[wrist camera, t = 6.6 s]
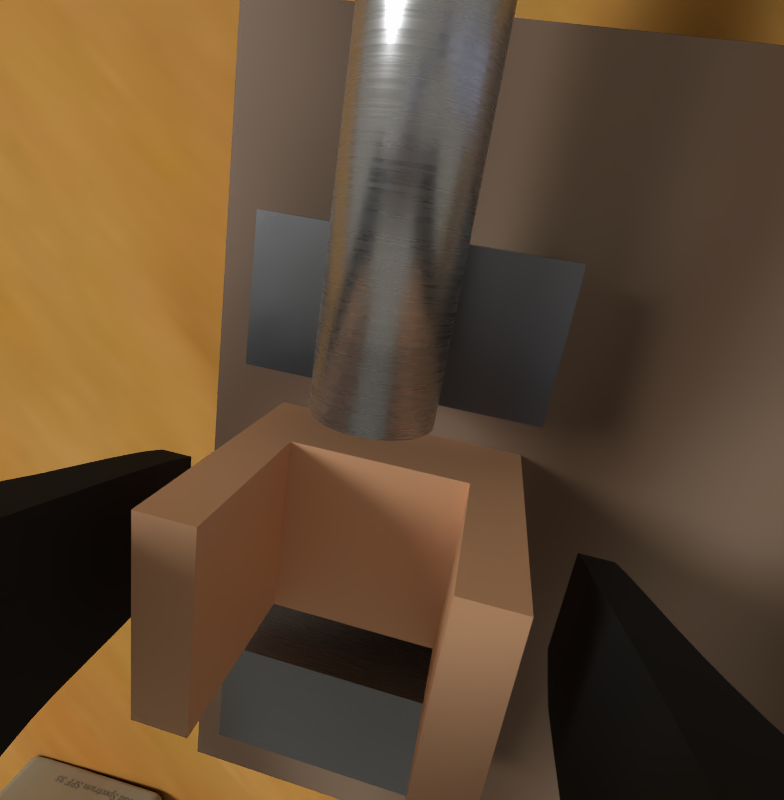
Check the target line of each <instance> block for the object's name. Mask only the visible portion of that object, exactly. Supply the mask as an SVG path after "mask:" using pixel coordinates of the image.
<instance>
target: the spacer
mask: <svg viewBox="0 0 784 800" xmlns="http://www.w3.org/2000/svg"><path fill="white" fill-rule="evenodd" d="M273 604H277V605H280V606H284V607H287V608H291V609H294V610H298V611H301V612H305V613H309V614H312V615H316V616H319V617H323V618H326V619H330V620H333V621H337V622H340V623H344V624H347V625H351V626H354V627H358V628H361V629H365V630H368V631H372V632H375V633H379V634H383V635H386V636H390V637H393V638H397V639H400V640H404V641H407V642H411V643H414V644H418V645H421V646H425V647H428V648H432V655H431V661H430V666H429V672H428V678H427V683H426V689H425V694H424V700H423V706H422V711H421V717H420V723H419V728H418V734H417V739H416V745H415V751H414V756H413V762H412V768H411V773H410V779H409V784H408V790H407V796H406V800H480V797H481V794H482V791H483V787H484V784H485V780H486V777H487V774H488V770H489V767H490V763H491V760H492V757H493V753H494V750H495V746H496V743H497V740H498V736H499V733H500V730H501V726H502V723H503V719H504V716H505V713H506V709H507V706H508V702H509V699H510V696H511V692H512V689H513V685H514V682H515V679H516V675H517V672H518V668H519V665H520V662H521V658H522V655H523V652H524V648H525V645H526V641H527V638H528V635H529V631H530V628H531V624H532V621H533V618H534V616H533V603H532V591H531V578H530V566H529V553H528V540H527V528H526V515H525V503H524V490H523V478H522V465H521V455H518V454H513V453H509V452H504V451H500V450H495V449H491V448H486V447H482V446H477V445H473V444H469V443H464V442H460V441H455V440H451V439H446V438H442V437H437V436H433V435H426V436H423V437H421V438H417V439H412V440H403V441H383V440H373V439H366V438H361V437H356V436H352V435H348V434H344V433H341V432H338V431H336V430H333V429H330V428H328V427H326V426H324V425H323V424H321V423H319V422H318V421H316V420H315V419H314V418H313V417H312V416H311V414H310V413H309V408H307V407H302V406H298V405H293V404H289V403H285V402H283V403H282V404H280V405H279V406H277V407H276V408H275V409H273V410H272V411H270V412H269V413H268V414H266V415H265V416H263V417H262V418H260V419H259V420H258V421H256V422H255V423H253V424H252V425H251V426H249V427H248V428H246V429H245V430H243V431H242V432H241V433H239V434H238V435H236V436H235V437H234V438H232V439H231V440H229V441H228V442H226V443H225V444H224V445H222V446H221V447H219V448H218V449H217V450H215V451H214V452H212V453H211V454H210V455H208V456H207V457H205V458H204V459H202V460H201V461H200V462H198V463H197V464H195V465H194V466H193V467H191V468H190V469H188V470H187V471H185V472H184V473H183V474H181V475H180V476H178V477H177V478H176V479H174V480H173V481H171V482H170V483H168V484H167V485H166V486H164V487H163V488H161V489H160V490H159V491H157V492H156V493H154V494H153V495H151V496H150V497H149V498H147V499H146V500H144V501H143V502H142V503H140V504H139V505H137V506H136V507H134V508H133V509H132V510H131V720H134V721H137V722H140V723H143V724H146V725H149V726H152V727H155V728H158V729H161V730H164V731H167V732H170V733H173V734H176V735H179V736H182V737H185V738H188V736H189V735H190V733H191V731H192V730H193V728H194V727H195V725H196V724H197V722H198V721H199V719H200V717H201V716H202V714H203V713H204V711H205V710H206V708H207V707H208V705H209V703H210V702H211V700H212V699H213V697H214V696H215V694H216V693H217V691H218V690H219V688H220V686H221V685H222V683H223V682H224V680H225V679H226V677H227V676H228V674H229V672H230V671H231V669H232V668H233V666H234V665H235V663H236V662H237V660H238V659H239V657H240V655H241V654H242V652H243V651H244V649H245V648H246V646H247V645H248V643H249V641H250V640H251V638H252V637H253V635H254V634H255V632H256V631H257V629H258V627H259V626H260V624H261V623H262V621H263V620H264V618H265V617H266V615H267V614H268V612H269V610H270V609H271V607H272V606H273Z"/></svg>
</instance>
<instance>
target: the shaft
mask: <svg viewBox="0 0 784 800" xmlns="http://www.w3.org/2000/svg"><path fill="white" fill-rule="evenodd" d="M516 5H517V0H355V7H354V16H353V25H352V34H351V42H350V51H349V60H348V69H347V77H346V86H345V95H344V103H343V112H342V121H341V130H340V138H339V147H338V156H337V165H336V173H335V182H334V191H333V200H332V208H331V217H330V226H329V235H328V243H327V252H326V261H325V270H324V278H323V287H322V296H321V304H320V313H319V322H318V331H317V339H316V348H315V357H314V366H313V374H312V383H311V392H310V401H309V413H310V414H311V416H312V417H313V418H314V419H315V420H316V421H318V422H319V423H321V424H323V425H324V426H326V427H328V428H330V429H333V430H336V431H338V432H341V433H344V434H348V435H352V436H356V437H361V438H366V439H373V440H383V441H403V440H412V439H417V438H421V437H423V436H426V435H428V434H429V433H430V432H431V431H432V430H433V428H434V423H435V418H436V413H437V408H438V403H439V398H440V393H441V388H442V382H443V377H444V372H445V367H446V362H447V357H448V352H449V347H450V342H451V337H452V331H453V326H454V321H455V316H456V311H457V306H458V301H459V296H460V291H461V286H462V280H463V275H464V270H465V265H466V260H467V255H468V250H469V245H470V240H471V234H472V229H473V224H474V219H475V214H476V209H477V204H478V199H479V194H480V189H481V183H482V178H483V173H484V168H485V163H486V158H487V153H488V148H489V143H490V138H491V132H492V127H493V122H494V117H495V112H496V107H497V102H498V97H499V92H500V87H501V81H502V76H503V71H504V66H505V61H506V56H507V51H508V46H509V41H510V36H511V30H512V25H513V20H514V15H515V10H516Z"/></svg>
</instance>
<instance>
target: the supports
mask: <svg viewBox="0 0 784 800" xmlns="http://www.w3.org/2000/svg"><path fill="white" fill-rule="evenodd" d="M329 226H330V220H324V219H318V218H312V217H306V216H299V215H293V214H286V213H280V212H273V211H266V210H260V209H257V215H256V229H255V243H254V257H253V270H252V284H251V298H250V312H249V326H248V339H247V353H246V364H249V365H253V366H258V367H263V368H267V369H272V370H277V371H281V372H286V373H291V374H295V375H300V376H305V377H309V378H312V374H313V366H314V357H315V348H316V339H317V331H318V322H319V313H320V304H321V296H322V287H323V278H324V270H325V261H326V252H327V243H328V235H329ZM585 268H586V264H583V263H578V262H574V261H569V260H563V259H557V258H551V257H545V256H539V255H533V254H527V253H521V252H515V251H509V250H503V249H497V248H491V247H485V246H479V245H473V244H470V245H469V250H468V255H467V260H466V265H465V270H464V275H463V280H462V286H461V291H460V296H459V301H458V306H457V311H456V316H455V321H454V326H453V331H452V337H451V342H450V347H449V352H448V357H447V362H446V367H445V372H444V377H443V382H442V388H441V393H440V398H439V403H438V405H440V406H444V407H449V408H454V409H458V410H463V411H468V412H472V413H477V414H481V415H486V416H491V417H495V418H500V419H505V420H509V421H514V422H519V423H523V424H528V425H533V426H537V427H542V428H543V425H544V422H545V418H546V414H547V410H548V407H549V403H550V399H551V395H552V392H553V388H554V384H555V380H556V377H557V373H558V369H559V365H560V362H561V358H562V354H563V350H564V347H565V343H566V339H567V335H568V332H569V328H570V324H571V320H572V317H573V313H574V309H575V305H576V302H577V298H578V294H579V290H580V286H581V283H582V279H583V275H584V271H585ZM431 655H432V648H428V647H425V646H421V645H418V644H414V643H411V642H407V641H404V640H400V639H397V638H393V637H390V636H386V635H383V634H379V633H375V632H372V631H368V630H365V629H361V628H358V627H354V626H351V625H347V624H344V623H340V622H337V621H333V620H330V619H326V618H323V617H319V616H316V615H312V614H309V613H305V612H301V611H298V610H294V609H291V608H287V607H284V606H280V605H277V604H273V606H272V607H271V609H270V610H269V612H268V614H267V615H266V617H265V618H264V620H263V621H262V623H261V624H260V626H259V627H258V629H257V631H256V632H255V634H254V635H253V637H252V638H251V640H250V641H249V643H248V645H247V646H246V648H245V649H244V651H243V652H242V654H241V655H240V657H239V659H238V660H237V662H236V663H235V665H234V666H233V668H232V669H231V671H230V672H229V674H228V676H227V677H226V679H225V680H224V682H223V684H222V698H221V712H220V725H219V735H222V736H225V737H228V738H231V739H234V740H237V741H240V742H243V743H246V744H249V745H252V746H255V747H258V748H261V749H264V750H267V751H270V752H273V753H277V754H280V755H283V756H286V757H289V758H292V759H295V760H298V761H301V762H304V763H307V764H310V765H313V766H316V767H319V768H322V769H325V770H328V771H331V772H334V773H337V774H340V775H343V776H346V777H349V778H352V779H355V780H359V781H362V782H365V783H368V784H371V785H374V786H377V787H380V788H383V789H386V790H389V791H392V792H395V793H398V794H401V795H404V796H407V790H408V784H409V779H410V773H411V768H412V762H413V756H414V751H415V745H416V739H417V734H418V728H419V723H420V717H421V711H422V706H423V700H424V694H425V689H426V683H427V678H428V672H429V666H430V661H431Z"/></svg>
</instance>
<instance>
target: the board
mask: <svg viewBox="0 0 784 800" xmlns="http://www.w3.org/2000/svg"><path fill="white" fill-rule="evenodd" d="M354 7H355V1H345V0H240V9H239V26H238V44H237V62H236V80H235V97H234V115H233V133H232V151H231V168H230V186H229V204H228V222H227V239H226V257H225V275H224V293H223V310H222V328H221V346H220V364H219V381H218V399H217V417H216V435H215V450H217V449H218V448H219V447H221V446H222V445H224V444H225V443H226V442H228V441H229V440H231V439H232V438H234V437H235V436H236V435H238V434H239V433H241V432H242V431H243V430H245V429H246V428H248V427H249V426H251V425H252V424H253V423H255V422H256V421H258V420H259V419H260V418H262V417H263V416H265V415H266V414H268V413H269V412H270V411H272V410H273V409H275V408H276V407H277V406H279V405H280V404H282V403H283V402H285V403H289V404H293V405H298V406H302V407H307V408H309V401H310V392H311V383H312V378H309V377H305V376H300V375H295V374H291V373H286V372H281V371H277V370H272V369H267V368H263V367H258V366H253V365H249V364H246V353H247V339H248V326H249V312H250V298H251V284H252V270H253V257H254V243H255V229H256V215H257V209H260V210H266V211H273V212H280V213H286V214H293V215H299V216H306V217H312V218H318V219H324V220H330V217H331V208H332V200H333V191H334V182H335V173H336V165H337V156H338V147H339V138H340V130H341V121H342V112H343V103H344V95H345V86H346V77H347V69H348V60H349V51H350V42H351V34H352V25H353V16H354ZM470 244H473V245H479V246H485V247H491V248H497V249H503V250H509V251H515V252H521V253H527V254H533V255H539V256H545V257H551V258H557V259H563V260H569V261H574V262H578V263H583V264H586V268H585V271H584V275H583V279H582V283H581V286H580V290H579V294H578V298H577V302H576V305H575V309H574V313H573V317H572V320H571V324H570V328H569V332H568V335H567V339H566V343H565V347H564V350H563V354H562V358H561V362H560V365H559V369H558V373H557V377H556V380H555V384H554V388H553V392H552V395H551V399H550V403H549V407H548V410H547V414H546V418H545V422H544V425H543V428H542V427H537V426H533V425H528V424H523V423H519V422H514V421H509V420H505V419H500V418H495V417H491V416H486V415H481V414H477V413H472V412H468V411H463V410H458V409H454V408H449V407H444V406H440V405H438V408H437V413H436V418H435V423H434V428H433V430H432V431H431V432H430V433H429V434H428V435H433V436H437V437H442V438H446V439H451V440H455V441H460V442H464V443H469V444H473V445H477V446H482V447H486V448H491V449H495V450H500V451H504V452H509V453H513V454H518V455H521V465H522V478H523V490H524V503H525V515H526V528H527V540H528V553H529V566H530V578H531V591H532V603H533V616H534V618H533V621H532V624H531V628H530V631H529V635H528V638H527V641H526V645H525V648H524V652H523V655H522V658H521V662H520V665H519V668H518V672H517V675H516V679H515V682H514V685H513V689H512V692H511V696H510V699H509V702H508V706H507V709H506V713H505V716H504V719H503V723H502V726H501V730H500V733H499V736H498V740H497V743H496V746H495V750H494V753H493V757H492V760H491V763H490V767H489V770H488V774H487V777H486V780H485V784H484V787H483V791H482V794H481V797H480V800H560V797H559V789H558V782H557V774H556V767H555V759H554V751H553V744H552V736H551V728H550V720H549V711H548V646H549V643H550V640H551V637H552V633H553V630H554V627H555V624H556V621H557V617H558V614H559V611H560V608H561V605H562V602H563V598H564V595H565V592H566V589H567V586H568V582H569V579H570V576H571V573H572V570H573V567H574V563H575V560H576V557H577V554H578V553H580V554H584V555H588V556H592V557H596V558H600V559H604V560H608V561H612V562H615V563H616V564H617V565H619V566H620V567H621V568H622V569H623V570H624V571H625V572H626V573H627V574H628V575H629V577H630V578H631V579H632V580H633V581H634V582H635V583H636V584H637V585H638V586H639V587H640V588H641V589H642V591H643V592H644V593H645V594H646V595H647V596H648V597H649V598H650V599H651V600H652V602H653V603H654V604H655V605H656V606H657V607H658V608H659V609H660V610H661V611H662V613H663V614H664V615H665V616H666V617H667V618H668V619H669V620H670V621H671V622H672V624H673V625H674V626H675V627H676V628H677V629H678V630H679V631H680V632H681V633H682V634H683V635H684V636H685V638H686V639H687V640H688V641H689V642H690V643H691V644H692V645H693V646H694V647H695V648H696V649H697V650H698V651H699V652H700V653H701V654H702V655H703V657H704V658H705V659H706V660H707V661H708V662H709V663H710V664H711V665H712V666H713V667H714V668H715V669H716V670H717V671H718V672H719V673H720V674H721V675H722V676H723V677H724V678H725V679H726V680H727V681H728V682H729V683H730V684H731V685H732V686H733V687H734V688H735V689H736V690H737V691H738V692H739V693H740V694H741V695H742V696H744V697H745V698H746V699H747V700H748V701H749V702H750V703H751V704H752V705H753V706H754V707H755V708H756V709H757V710H758V711H759V712H760V713H761V714H762V715H763V716H764V717H765V718H766V719H767V720H768V721H769V722H770V723H772V724H773V725H774V726H775V727H776V728H777V729H778V730H779V731H780V732H781V733H782V734H784V45H775V44H766V43H756V42H746V41H736V40H726V39H717V38H707V37H697V36H687V35H678V34H668V33H658V32H648V31H638V30H629V29H619V28H609V27H599V26H589V25H580V24H570V23H560V22H550V21H541V20H531V19H521V18H514V20H513V25H512V30H511V36H510V41H509V46H508V51H507V56H506V61H505V66H504V71H503V76H502V81H501V87H500V92H499V97H498V102H497V107H496V112H495V117H494V122H493V127H492V132H491V138H490V143H489V148H488V153H487V158H486V163H485V168H484V173H483V178H482V183H481V189H480V194H479V199H478V204H477V209H476V214H475V219H474V224H473V229H472V234H471V240H470ZM222 684H223V683H222ZM221 698H222V685H221V686H220V688H219V690H218V691H217V693H216V694H215V696H214V697H213V699H212V700H211V702H210V703H209V705H208V707H207V708H206V710H205V711H204V713H203V714H202V716H201V717H200V719H199V736H198V752H201V753H204V754H207V755H210V756H213V757H216V758H219V759H222V760H225V761H228V762H231V763H234V764H237V765H240V766H243V767H246V768H249V769H252V770H255V771H257V772H260V773H263V774H266V775H269V776H272V777H275V778H278V779H281V780H284V781H287V782H290V783H293V784H296V785H299V786H302V787H305V788H308V789H311V790H314V791H317V792H320V793H323V794H326V795H329V796H332V797H335V798H338V799H341V800H406V796H404V795H401V794H398V793H395V792H392V791H389V790H386V789H383V788H380V787H377V786H374V785H371V784H368V783H365V782H362V781H359V780H355V779H352V778H349V777H346V776H343V775H340V774H337V773H334V772H331V771H328V770H325V769H322V768H319V767H316V766H313V765H310V764H307V763H304V762H301V761H298V760H295V759H292V758H289V757H286V756H283V755H280V754H277V753H273V752H270V751H267V750H264V749H261V748H258V747H255V746H252V745H249V744H246V743H243V742H240V741H237V740H234V739H231V738H228V737H225V736H222V735H219V725H220V712H221Z"/></svg>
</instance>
